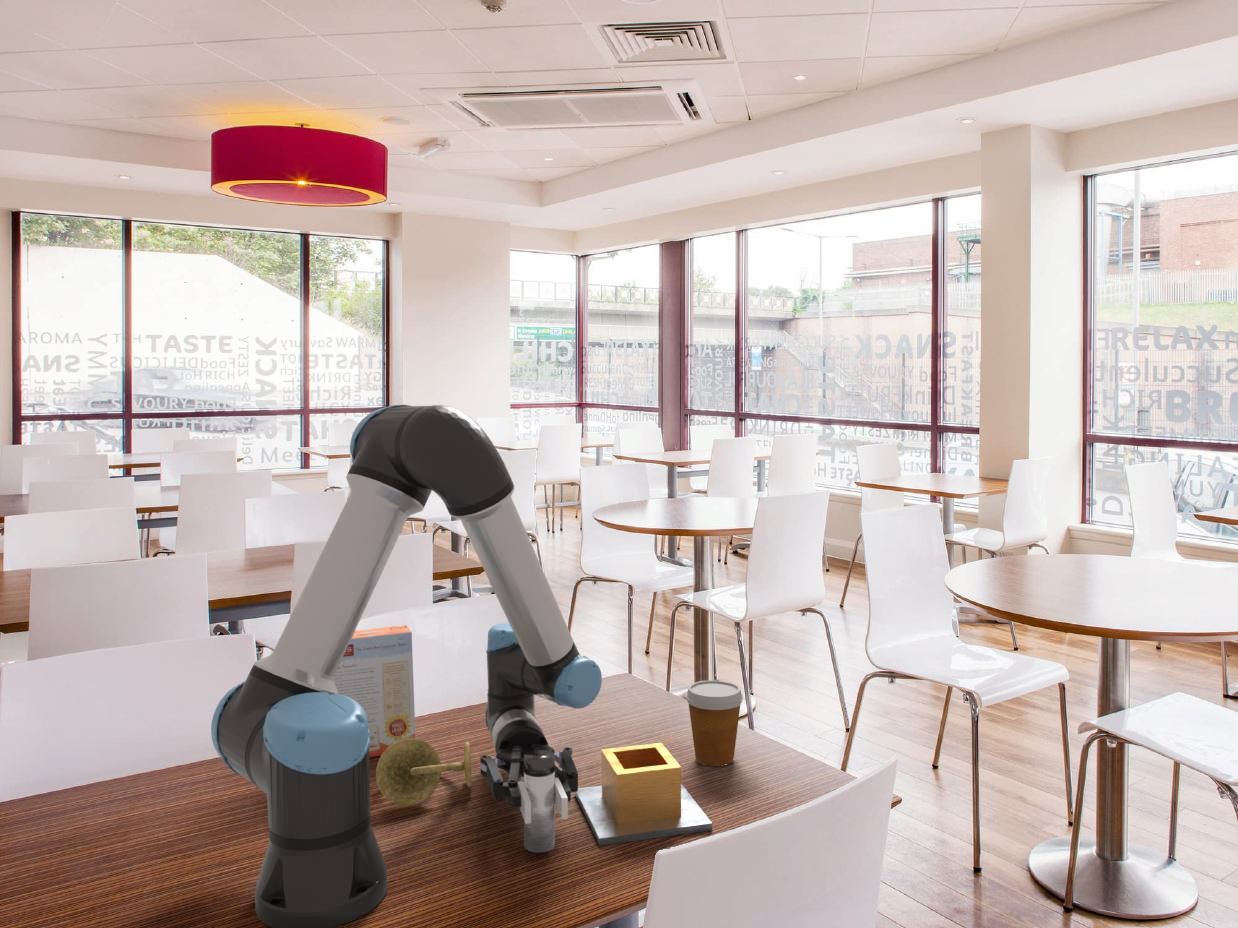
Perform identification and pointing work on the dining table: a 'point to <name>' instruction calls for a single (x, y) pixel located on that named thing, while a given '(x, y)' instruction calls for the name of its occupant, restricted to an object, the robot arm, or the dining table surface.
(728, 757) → the disposable coffee cup
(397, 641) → the cracker box
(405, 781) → the wall sconce
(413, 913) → the dining table surface
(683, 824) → the yellow open box
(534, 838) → the capped glass tube
